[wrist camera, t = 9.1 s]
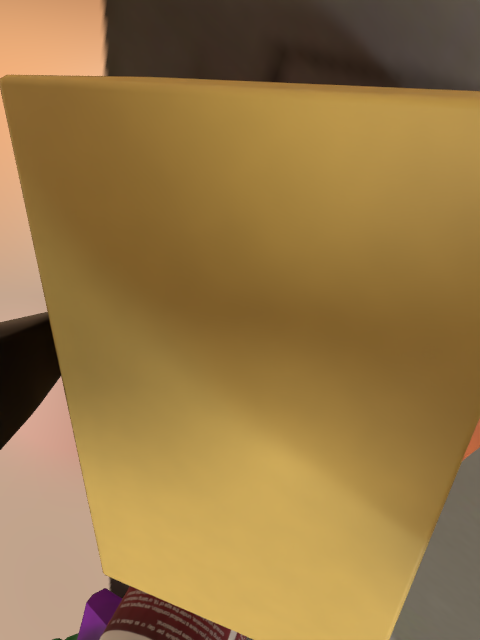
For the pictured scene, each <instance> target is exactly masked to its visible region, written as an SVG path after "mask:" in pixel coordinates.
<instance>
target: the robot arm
mask: <svg viewBox="0 0 480 640" xmlns="http://www.w3.org/2000/svg"><path fill="white" fill-rule="evenodd" d="M60 376H61V372H60V367H59V362H58V358H57V353H56V348H55V344H54V339H53V334H52V329H51V325H50V320H49V315H48V312H45V313H40V314H36V315H32V316H27V317H22V318H18V319H13V320H9V321H4V322H0V450H1V449H2V447H3V446H4V445H5V444H6V443H7V442H8V441H9V440H10V439H11V437H12V436H13V435H14V434H15V433H16V432H17V431H18V430H19V429H20V427H21V426H22V425H23V424H24V423H25V422H26V421H27V420H28V418H29V417H30V416H31V415H32V414H33V412H34V411H35V410H36V409H37V407H38V406H39V405H40V403H41V402H42V401H43V400H44V398H45V397H46V395H47V394H48V392H49V391H50V390H51V388H52V387H53V386H54V385H55V383H56V382H57V380H58V379H59V378H60Z"/></svg>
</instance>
